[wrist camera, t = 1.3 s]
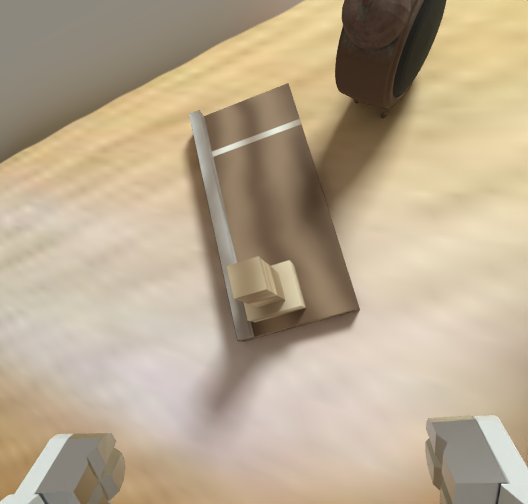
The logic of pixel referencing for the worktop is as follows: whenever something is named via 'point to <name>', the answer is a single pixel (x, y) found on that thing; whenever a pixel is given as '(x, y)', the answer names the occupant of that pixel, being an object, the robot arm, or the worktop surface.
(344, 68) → the alarm clock
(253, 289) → the stacked beige blocks
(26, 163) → the worktop surface
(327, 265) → the walnut board
